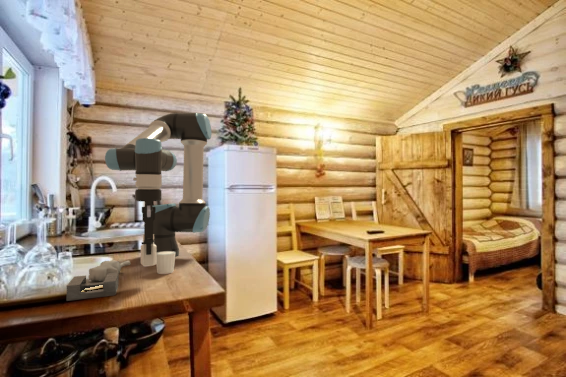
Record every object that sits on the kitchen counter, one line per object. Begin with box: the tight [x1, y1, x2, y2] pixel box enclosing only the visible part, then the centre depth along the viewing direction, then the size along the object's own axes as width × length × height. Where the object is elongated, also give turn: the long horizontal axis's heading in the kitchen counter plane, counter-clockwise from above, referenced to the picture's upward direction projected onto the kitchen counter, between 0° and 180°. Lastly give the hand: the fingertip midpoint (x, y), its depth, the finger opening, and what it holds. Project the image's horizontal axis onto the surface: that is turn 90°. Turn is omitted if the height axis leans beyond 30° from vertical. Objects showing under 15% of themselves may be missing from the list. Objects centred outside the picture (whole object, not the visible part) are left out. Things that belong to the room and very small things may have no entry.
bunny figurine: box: [88, 259, 131, 282], centre depth 105 cm, size 10×5×15 cm
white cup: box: [156, 251, 176, 275], centre depth 111 cm, size 7×7×7 cm
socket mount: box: [65, 273, 119, 302], centre depth 88 cm, size 10×12×4 cm
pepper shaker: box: [140, 234, 157, 267], centre depth 96 cm, size 4×4×10 cm
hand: (148, 262), depth 96 cm, fingers closed on pepper shaker, 4 cm apart
